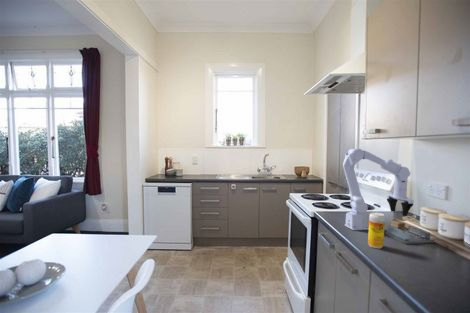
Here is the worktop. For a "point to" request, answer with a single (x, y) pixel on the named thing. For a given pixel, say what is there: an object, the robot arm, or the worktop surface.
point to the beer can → (376, 230)
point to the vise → (414, 236)
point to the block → (398, 225)
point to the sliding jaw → (399, 233)
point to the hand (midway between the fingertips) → (398, 213)
